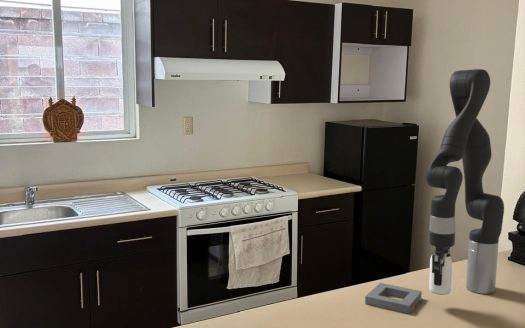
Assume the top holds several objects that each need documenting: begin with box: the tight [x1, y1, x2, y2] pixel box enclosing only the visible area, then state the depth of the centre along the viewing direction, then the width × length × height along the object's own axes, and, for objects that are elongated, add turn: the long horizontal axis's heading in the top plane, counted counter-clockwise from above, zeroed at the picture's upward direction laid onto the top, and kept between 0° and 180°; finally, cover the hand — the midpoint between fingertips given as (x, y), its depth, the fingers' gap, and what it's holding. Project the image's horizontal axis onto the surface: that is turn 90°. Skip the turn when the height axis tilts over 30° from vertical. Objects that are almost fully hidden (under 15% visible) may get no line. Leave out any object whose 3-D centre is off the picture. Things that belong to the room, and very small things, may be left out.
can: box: [428, 251, 453, 296], centre depth 165 cm, size 6×6×12 cm
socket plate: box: [364, 282, 423, 315], centre depth 171 cm, size 14×14×2 cm
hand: (440, 281), depth 166 cm, fingers closed on can, 6 cm apart
